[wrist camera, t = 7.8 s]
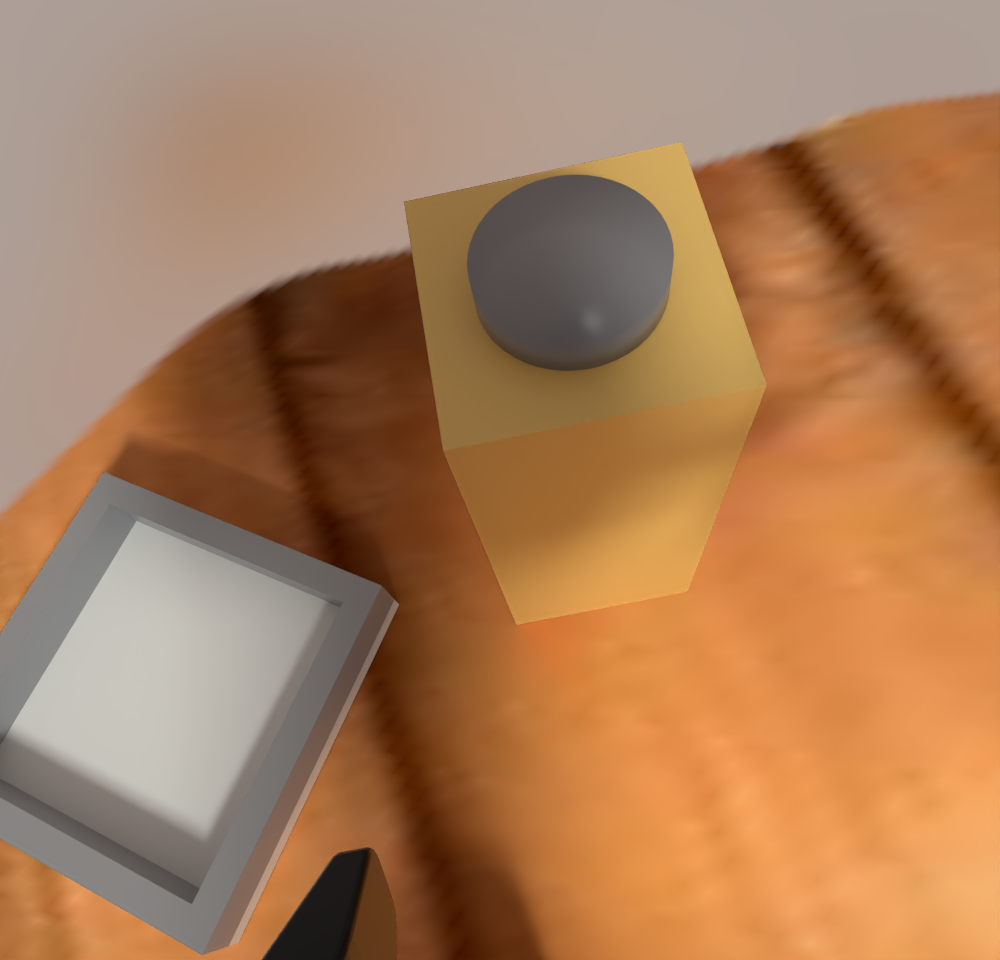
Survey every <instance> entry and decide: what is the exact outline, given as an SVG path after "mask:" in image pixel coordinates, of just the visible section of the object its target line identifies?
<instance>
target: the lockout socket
mask: <svg viewBox="0 0 1000 960" xmlns="http://www.w3.org/2000/svg"><path fill="white" fill-rule="evenodd" d="M398 606H399V604H398V603H397V602H396V600H395V599H394V598H393V597H392V596H391V595H390V594H389V593H388V592H387V591H386V590H385V589H384V587H383V586H381V585H379V584H377V583H374V582H372V581H369V580H367V579H364V578H362V577H359V576H357V575H355V574H352V573H350V572H347V571H345V570H342V569H340V568H337V567H335V566H333V565H330V564H328V563H325V562H323V561H320V560H318V559H315V558H313V557H311V556H308V555H306V554H303V553H301V552H298V551H296V550H293V549H291V548H288V547H286V546H284V545H281V544H279V543H276V542H274V541H271V540H269V539H266V538H264V537H262V536H259V535H257V534H254V533H252V532H249V531H247V530H244V529H242V528H240V527H237V526H235V525H232V524H230V523H227V522H225V521H222V520H220V519H218V518H215V517H213V516H210V515H208V514H205V513H203V512H200V511H198V510H196V509H193V508H191V507H188V506H186V505H183V504H181V503H178V502H176V501H173V500H171V499H169V498H166V497H164V496H161V495H159V494H156V493H154V492H151V491H149V490H147V489H144V488H142V487H139V486H137V485H134V484H132V483H129V482H127V481H125V480H122V479H120V478H117V477H115V476H112V475H110V474H107V473H105V472H103V474H102V475H101V477H100V478H99V480H98V481H97V483H96V485H95V486H94V488H93V489H92V491H91V492H90V494H89V496H88V497H87V499H86V500H85V502H84V503H83V505H82V506H81V508H80V510H79V511H78V513H77V514H76V516H75V517H74V519H73V521H72V522H71V524H70V525H69V527H68V528H67V530H66V532H65V533H64V535H63V536H62V538H61V539H60V541H59V543H58V544H57V546H56V547H55V549H54V550H53V552H52V554H51V555H50V557H49V558H48V560H47V561H46V563H45V565H44V566H43V568H42V569H41V571H40V572H39V574H38V575H37V577H36V579H35V580H34V582H33V583H32V585H31V586H30V588H29V590H28V591H27V593H26V594H25V596H24V597H23V599H22V601H21V602H20V604H19V605H18V607H17V608H16V610H15V612H14V613H13V615H12V616H11V618H10V619H9V621H8V623H7V624H6V626H5V627H4V629H3V630H2V632H1V633H0V839H1V840H3V841H5V842H7V843H8V844H10V845H12V846H14V847H15V848H17V849H19V850H21V851H22V852H24V853H26V854H27V855H29V856H31V857H33V858H34V859H36V860H38V861H40V862H41V863H43V864H45V865H47V866H48V867H50V868H52V869H54V870H55V871H57V872H59V873H61V874H62V875H64V876H66V877H67V878H69V879H71V880H73V881H74V882H76V883H78V884H80V885H81V886H83V887H85V888H87V889H88V890H90V891H92V892H94V893H95V894H97V895H99V896H101V897H102V898H104V899H106V900H107V901H109V902H111V903H113V904H114V905H116V906H118V907H120V908H121V909H123V910H125V911H127V912H128V913H130V914H132V915H134V916H135V917H137V918H139V919H141V920H142V921H144V922H146V923H147V924H149V925H151V926H153V927H154V928H156V929H158V930H160V931H161V932H163V933H165V934H167V935H168V936H170V937H172V938H174V939H175V940H177V941H179V942H181V943H182V944H184V945H186V946H187V947H189V948H191V949H193V950H194V951H196V952H198V953H200V954H201V955H203V954H206V953H209V952H212V951H215V950H218V949H221V948H224V947H227V946H230V945H233V944H236V943H239V941H240V939H241V936H242V934H243V932H244V930H245V928H246V926H247V924H248V922H249V920H250V918H251V915H252V913H253V911H254V909H255V907H256V905H257V903H258V901H259V899H260V897H261V894H262V892H263V890H264V888H265V886H266V884H267V882H268V880H269V878H270V875H271V873H272V871H273V869H274V867H275V865H276V863H277V861H278V859H279V857H280V854H281V852H282V850H283V848H284V846H285V844H286V842H287V840H288V838H289V836H290V833H291V831H292V829H293V827H294V825H295V823H296V821H297V819H298V817H299V814H300V812H301V810H302V808H303V806H304V804H305V802H306V800H307V798H308V796H309V793H310V791H311V789H312V787H313V785H314V783H315V781H316V779H317V777H318V775H319V772H320V770H321V768H322V766H323V764H324V762H325V760H326V758H327V756H328V753H329V751H330V749H331V747H332V745H333V743H334V741H335V739H336V737H337V735H338V732H339V730H340V728H341V726H342V724H343V722H344V720H345V718H346V716H347V713H348V711H349V709H350V707H351V705H352V703H353V701H354V699H355V697H356V695H357V692H358V690H359V688H360V686H361V684H362V682H363V680H364V678H365V676H366V674H367V671H368V669H369V667H370V665H371V663H372V661H373V659H374V657H375V655H376V652H377V650H378V648H379V646H380V644H381V642H382V640H383V638H384V636H385V634H386V631H387V629H388V627H389V625H390V623H391V621H392V619H393V617H394V615H395V613H396V610H397V608H398Z"/></svg>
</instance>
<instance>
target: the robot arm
mask: <svg viewBox="0 0 1000 960" xmlns="http://www.w3.org/2000/svg"><path fill="white" fill-rule="evenodd" d="M262 960H396V915H395V908H394V903H393V899H392V896H391V894H390V891H389V888H388V885H387V882H386V879H385V876H384V873H383V870H382V867H381V864H380V861H379V858H378V856H377V854H376V853H375V851H374V850H373V849H371V848H362V849H356V850H351V851H346V852H341V853H338V854H336V855H335V856H334V857H333V858H332V859H331V860H330V862H329V863H328V865H327V866H326V868H325V869H324V870H323V872H322V873H321V875H320V876H319V878H318V879H317V881H316V882H315V883H314V885H313V886H312V888H311V889H310V891H309V892H308V894H307V895H306V896H305V898H304V899H303V901H302V902H301V904H300V905H299V907H298V908H297V909H296V911H295V912H294V914H293V915H292V917H291V918H290V920H289V921H288V922H287V924H286V925H285V927H284V928H283V930H282V931H281V933H280V934H279V935H278V937H277V938H276V940H275V941H274V943H273V944H272V945H271V947H270V948H269V950H268V951H267V953H266V954H265V956H264V957H263V958H262Z"/></svg>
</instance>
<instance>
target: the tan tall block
mask: <svg viewBox="0 0 1000 960" xmlns="http://www.w3.org/2000/svg"><path fill="white" fill-rule="evenodd" d="M404 204H405V211H406V217H407V224H408V230H409V236H410V243H411V249H412V256H413V262H414V268H415V275H416V281H417V288H418V294H419V301H420V307H421V313H422V320H423V326H424V333H425V339H426V345H427V352H428V358H429V365H430V371H431V377H432V384H433V390H434V397H435V403H436V410H437V416H438V422H439V429H440V435H441V442H442V448H443V452H444V455H445V457H446V459H447V462H448V464H449V467H450V469H451V471H452V474H453V476H454V478H455V481H456V483H457V486H458V488H459V490H460V493H461V495H462V497H463V500H464V502H465V504H466V507H467V509H468V512H469V514H470V516H471V519H472V521H473V523H474V526H475V528H476V531H477V533H478V535H479V538H480V540H481V542H482V545H483V547H484V550H485V552H486V554H487V557H488V559H489V561H490V564H491V566H492V568H493V571H494V573H495V576H496V578H497V580H498V583H499V585H500V587H501V590H502V592H503V595H504V597H505V599H506V602H507V604H508V606H509V609H510V611H511V613H512V616H513V618H514V621H515V623H516V625H519V624H524V623H530V622H535V621H540V620H545V619H550V618H555V617H560V616H565V615H571V614H576V613H581V612H586V611H591V610H596V609H601V608H607V607H612V606H617V605H622V604H627V603H632V602H637V601H643V600H648V599H653V598H658V597H663V596H668V595H673V594H679V593H684V592H688V589H689V586H690V584H691V581H692V579H693V576H694V573H695V571H696V568H697V566H698V563H699V560H700V558H701V555H702V553H703V550H704V547H705V545H706V542H707V540H708V537H709V534H710V532H711V529H712V527H713V524H714V521H715V519H716V516H717V514H718V511H719V508H720V506H721V503H722V501H723V498H724V495H725V493H726V490H727V488H728V485H729V482H730V480H731V477H732V475H733V472H734V469H735V467H736V464H737V462H738V459H739V456H740V454H741V451H742V449H743V446H744V443H745V441H746V438H747V436H748V433H749V430H750V428H751V425H752V423H753V420H754V417H755V415H756V412H757V410H758V407H759V404H760V402H761V399H762V397H763V394H764V391H765V389H766V386H767V384H766V382H765V379H764V376H763V373H762V370H761V367H760V364H759V361H758V359H757V356H756V353H755V350H754V347H753V344H752V341H751V339H750V336H749V333H748V330H747V327H746V324H745V321H744V319H743V316H742V313H741V310H740V307H739V304H738V301H737V298H736V296H735V293H734V290H733V287H732V284H731V281H730V278H729V276H728V273H727V270H726V267H725V264H724V261H723V258H722V256H721V253H720V250H719V247H718V244H717V241H716V238H715V235H714V233H713V230H712V227H711V224H710V221H709V218H708V215H707V213H706V210H705V207H704V204H703V201H702V198H701V195H700V193H699V190H698V187H697V184H696V181H695V178H694V175H693V172H692V170H691V167H690V164H689V161H688V158H687V155H686V152H685V150H684V147H683V144H682V142H680V143H675V144H670V145H666V146H661V147H656V148H652V149H647V150H643V151H639V152H633V153H629V154H624V155H619V156H615V157H610V158H606V159H601V160H596V161H591V162H587V163H582V164H578V165H573V166H568V167H564V168H559V169H554V170H550V171H545V172H540V173H536V174H531V175H526V176H522V177H517V178H512V179H508V180H503V181H498V182H495V183H489V184H485V185H480V186H475V187H471V188H466V189H461V190H457V191H452V192H447V193H443V194H439V195H434V196H429V197H424V198H420V199H415V200H410V201H406V202H404Z"/></svg>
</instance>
